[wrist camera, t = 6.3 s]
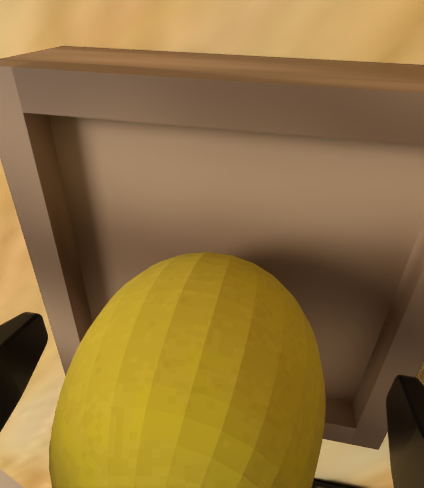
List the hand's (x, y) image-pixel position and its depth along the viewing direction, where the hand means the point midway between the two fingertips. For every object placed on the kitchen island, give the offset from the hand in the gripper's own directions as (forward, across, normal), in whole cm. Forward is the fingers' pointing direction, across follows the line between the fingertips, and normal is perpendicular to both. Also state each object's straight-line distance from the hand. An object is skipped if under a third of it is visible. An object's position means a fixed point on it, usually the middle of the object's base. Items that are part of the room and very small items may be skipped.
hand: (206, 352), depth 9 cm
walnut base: (+6, 0, 0) cm, 6 cm away
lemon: (+3, 0, 0) cm, 3 cm away
